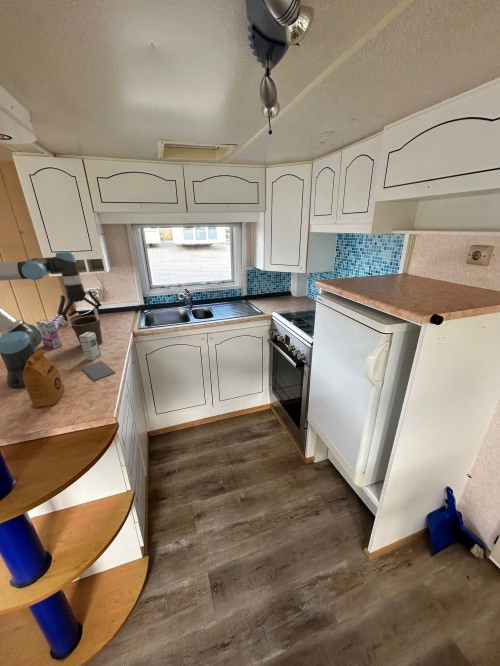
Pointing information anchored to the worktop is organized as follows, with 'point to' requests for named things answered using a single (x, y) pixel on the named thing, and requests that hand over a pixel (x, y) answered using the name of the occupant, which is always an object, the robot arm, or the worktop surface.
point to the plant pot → (87, 327)
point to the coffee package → (42, 380)
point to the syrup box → (90, 345)
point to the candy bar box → (49, 334)
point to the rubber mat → (97, 370)
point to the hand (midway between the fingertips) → (84, 322)
